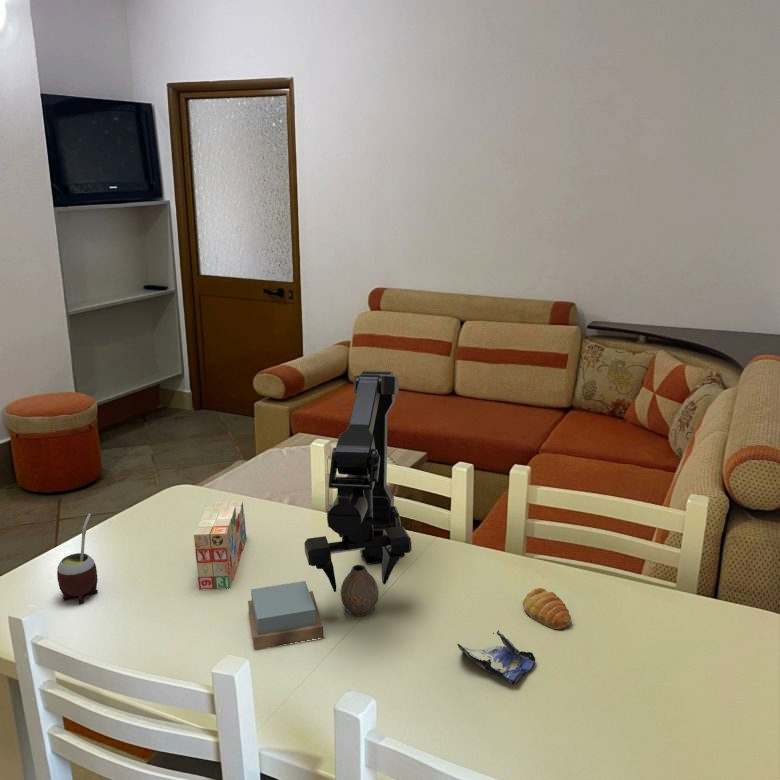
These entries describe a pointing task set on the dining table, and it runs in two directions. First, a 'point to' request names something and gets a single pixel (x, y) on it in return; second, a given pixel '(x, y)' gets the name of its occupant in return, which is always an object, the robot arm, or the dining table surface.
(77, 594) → the mate gourd
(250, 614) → the tower base
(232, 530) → the stack of blocks
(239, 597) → the dining table surface
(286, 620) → the tower top
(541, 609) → the pastry
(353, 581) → the vase
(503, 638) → the snack package
